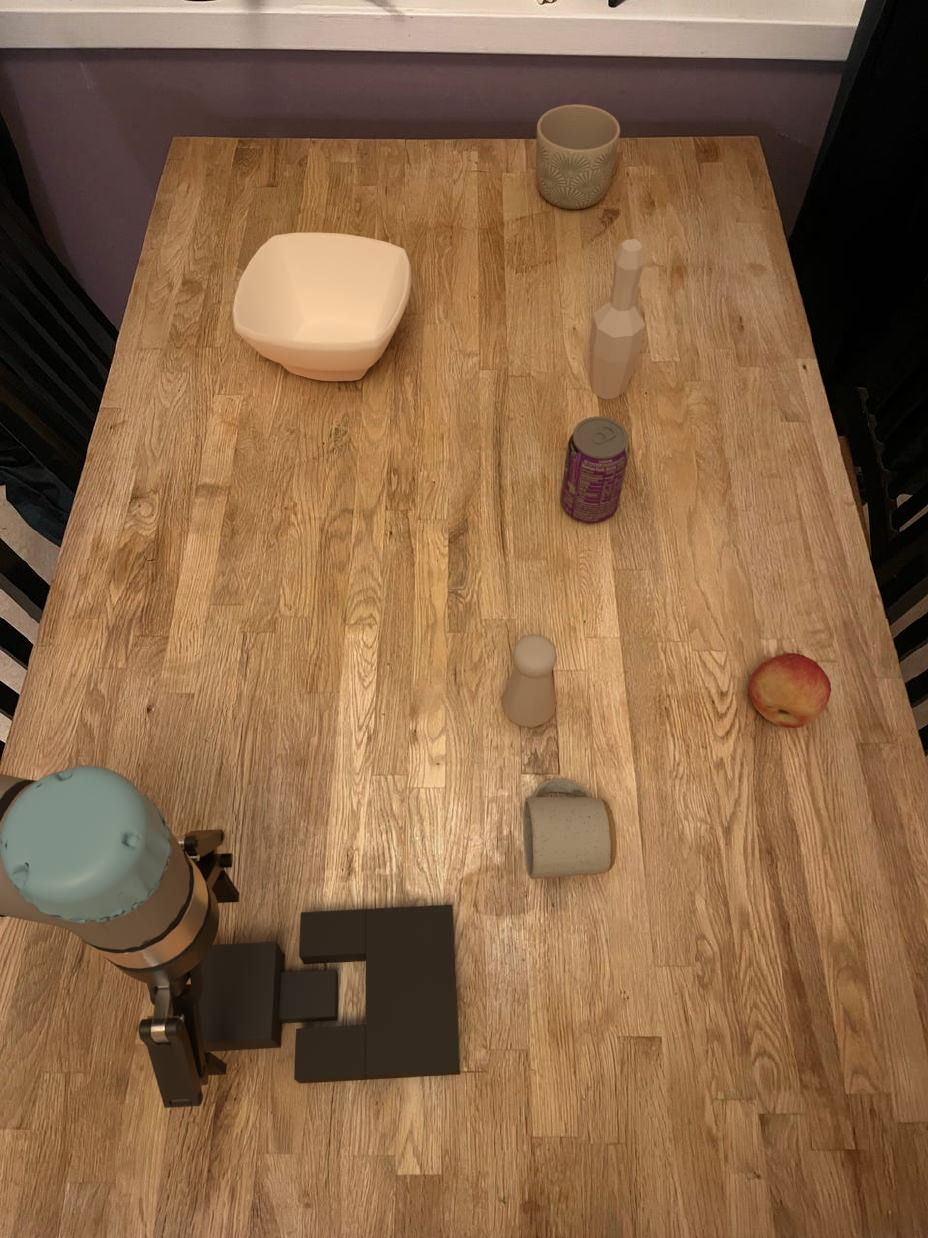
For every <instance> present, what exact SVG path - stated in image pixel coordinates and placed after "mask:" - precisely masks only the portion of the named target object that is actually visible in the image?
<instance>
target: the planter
mask: <svg viewBox="0 0 928 1238" xmlns="http://www.w3.org/2000/svg"><path fill="white" fill-rule="evenodd" d="M620 134H621V126H620V124H619V122H618V120H617V118H616V117H614V116H613V115H612V114H611V113H610V112H608V111H607V110H604V109H602V108H599V107H596V106H592V105H588V104H577V103H576V104H575V103H573V104H565V105H560V106H556V107H553V108H551V109H550V110H548V111H546V112H545V113H542V115H541V116H540V118H539V119H538V121H537V123H536V142H535V143H536V144H535V145H536V147H535V176H536V184H537V188H538V191H539V193H540V195H541V196H542V197H543V199H545V200H546V201H547V202H548V203H549V204H551V205H553V206H555V207H557V208H562V209H565V210H581V209H582V210H583V209H587V208H589V207H592V206H595V205H596V204H597V203H599V202H600V201H601V200H603V198H604V197H605V195H606V194H607V192H608V190H609V188H610V184H611V181H612V176H613V173H614V169H615V168H614V167H615V162H616V157H617V152H618V146H619V139H620Z"/></svg>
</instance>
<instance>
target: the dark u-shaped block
mask: <svg viewBox="0 0 928 1238" xmlns="http://www.w3.org/2000/svg"><path fill="white" fill-rule="evenodd" d="M454 930H455V929H454V911H453V904H452V903H451V904H432V905H431V904H430V905H414V906H397V907H396V906H395V907H393V906H392V907H376V908H375V907H374V908H357V909H339V910H338V909H336V910H322V911H321V910H319V911H301V912H300V919H299V946H298V947H299V948H298V950H299V951H298V957H299V959H300V961H301V962H302V964H303V965H319V964H336V963H354V962H356V963H358V962H365V1024H357V1025H356V1024H355V1025H334V1026H320V1027H319V1026H318V1027H301V1028H298V1027H297V1028H296V1029H295V1047H294V1071H293V1072H294V1073H293V1074H294V1075H293V1078H294V1081H296V1082H297V1083H298V1084H300V1085H301V1084H316V1083H317V1084H319V1083H334V1082H335V1083H336V1082H352V1081H353V1082H354V1081H367V1080H369V1081H370V1080H372V1081H373V1080H385V1079H386V1080H390V1079H406V1078H408V1079H409V1078H423V1077H424V1078H425V1077H441V1076H442V1077H443V1076H457V1075H461V1066H460V1065H461V1064H460V1063H461V1062H460V1041H459V1021H458V997H457V976H456V975H457V974H456V956H455V954H456V953H455V932H454Z"/></svg>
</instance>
